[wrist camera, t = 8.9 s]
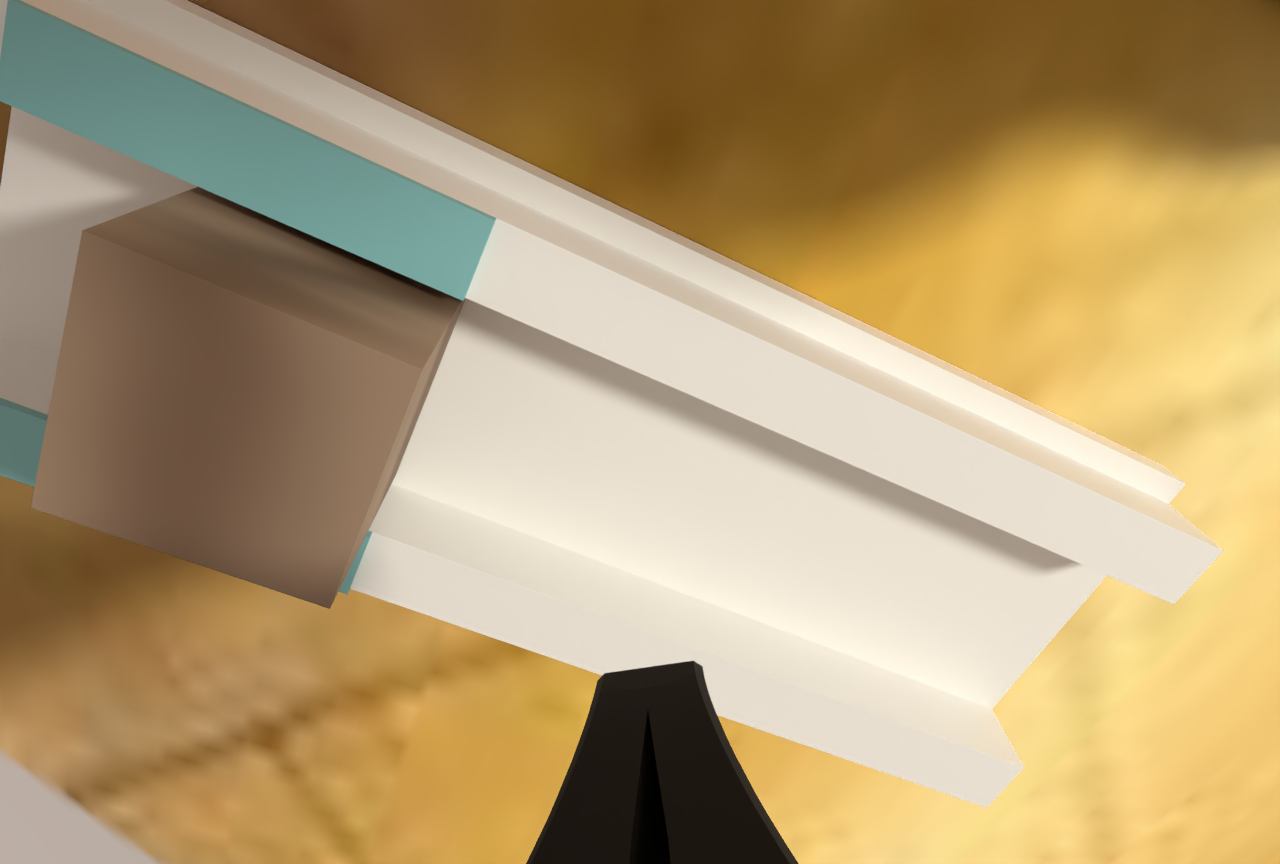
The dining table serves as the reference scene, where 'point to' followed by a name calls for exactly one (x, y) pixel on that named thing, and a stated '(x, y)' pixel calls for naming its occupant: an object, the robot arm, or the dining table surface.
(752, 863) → the robot arm
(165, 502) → the walnut block
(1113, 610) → the dining table surface
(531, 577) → the chute
